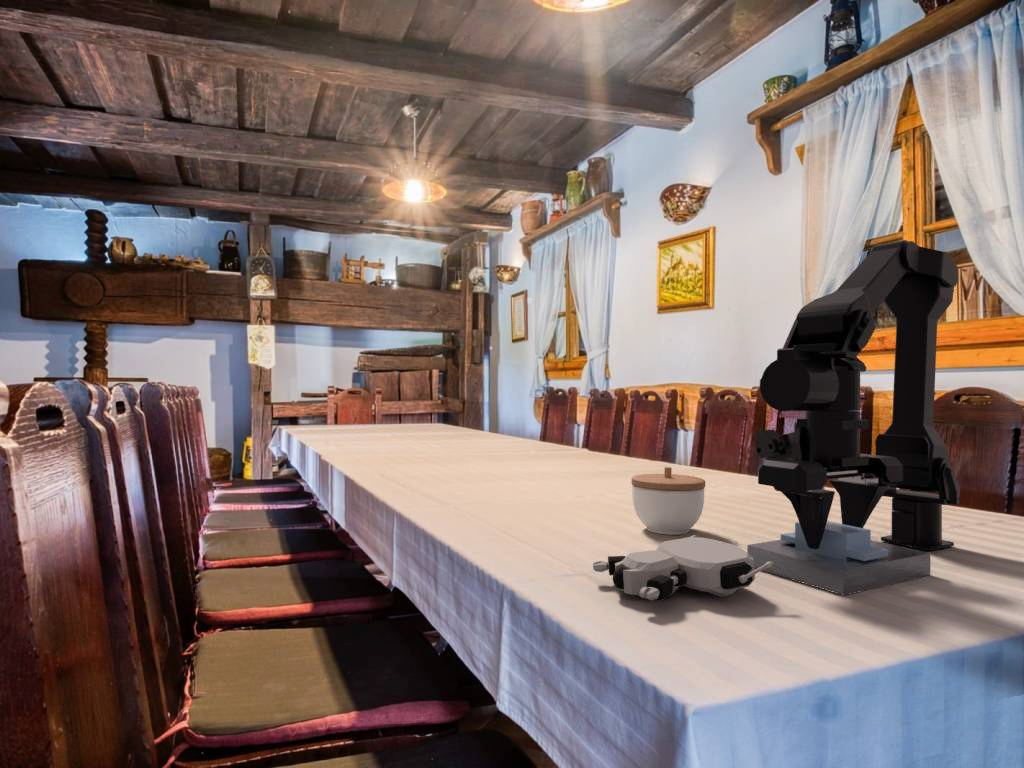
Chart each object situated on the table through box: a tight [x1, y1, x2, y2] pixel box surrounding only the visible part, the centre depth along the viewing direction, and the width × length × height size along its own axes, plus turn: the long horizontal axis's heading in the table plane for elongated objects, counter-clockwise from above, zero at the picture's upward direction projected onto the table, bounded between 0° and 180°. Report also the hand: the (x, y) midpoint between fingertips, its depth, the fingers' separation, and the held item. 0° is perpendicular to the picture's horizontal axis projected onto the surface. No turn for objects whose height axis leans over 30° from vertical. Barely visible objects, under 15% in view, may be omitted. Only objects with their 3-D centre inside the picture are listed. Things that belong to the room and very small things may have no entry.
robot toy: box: [592, 534, 773, 602], centre depth 64 cm, size 12×4×15 cm
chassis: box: [746, 539, 931, 596], centre depth 72 cm, size 16×12×2 cm
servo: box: [780, 520, 888, 562], centre depth 72 cm, size 6×10×5 cm, turn 28°
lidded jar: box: [631, 466, 706, 536], centre depth 93 cm, size 11×11×9 cm
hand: (831, 545), depth 72 cm, fingers open, 6 cm apart
